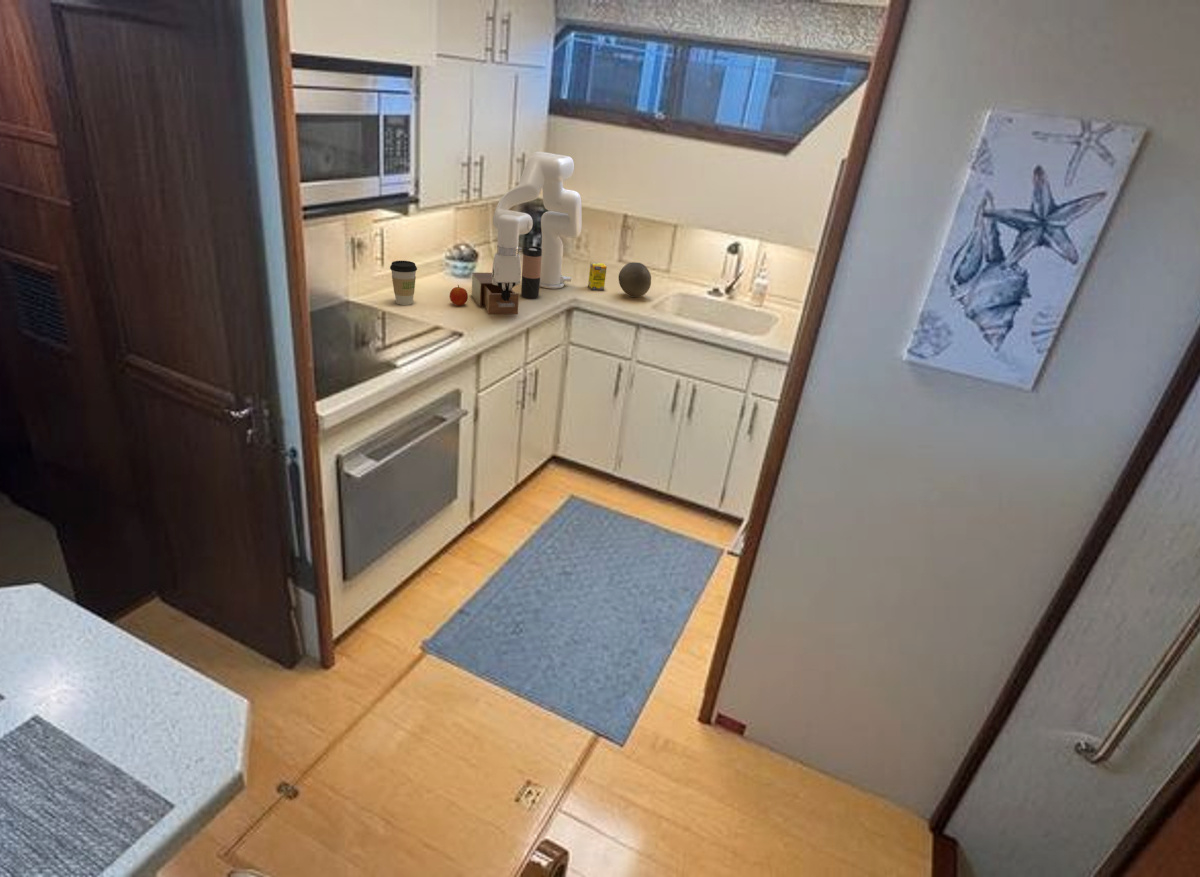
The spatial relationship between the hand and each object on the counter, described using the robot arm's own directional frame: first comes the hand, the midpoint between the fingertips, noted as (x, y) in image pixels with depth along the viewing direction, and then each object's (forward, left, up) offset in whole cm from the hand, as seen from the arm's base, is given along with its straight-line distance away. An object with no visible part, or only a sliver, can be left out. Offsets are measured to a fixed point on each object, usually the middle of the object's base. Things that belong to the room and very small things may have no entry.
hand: (505, 299), depth 258 cm
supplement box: (-52, -36, -7) cm, 64 cm away
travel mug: (-18, -26, -7) cm, 32 cm away
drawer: (0, -6, -6) cm, 9 cm away
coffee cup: (+34, -20, -7) cm, 40 cm away
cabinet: (0, -20, -7) cm, 21 cm away
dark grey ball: (-64, -24, -7) cm, 69 cm away
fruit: (+14, -16, -7) cm, 23 cm away
